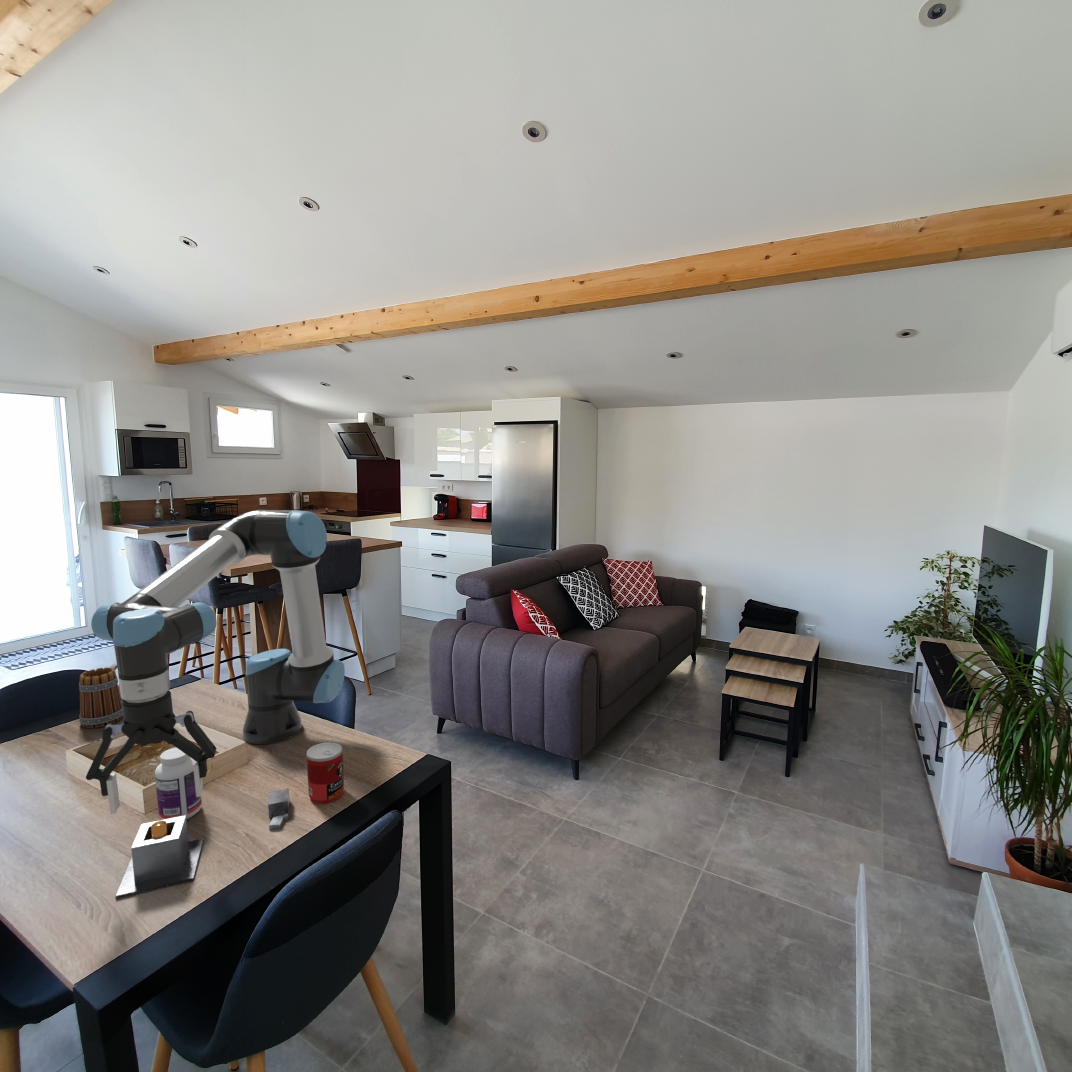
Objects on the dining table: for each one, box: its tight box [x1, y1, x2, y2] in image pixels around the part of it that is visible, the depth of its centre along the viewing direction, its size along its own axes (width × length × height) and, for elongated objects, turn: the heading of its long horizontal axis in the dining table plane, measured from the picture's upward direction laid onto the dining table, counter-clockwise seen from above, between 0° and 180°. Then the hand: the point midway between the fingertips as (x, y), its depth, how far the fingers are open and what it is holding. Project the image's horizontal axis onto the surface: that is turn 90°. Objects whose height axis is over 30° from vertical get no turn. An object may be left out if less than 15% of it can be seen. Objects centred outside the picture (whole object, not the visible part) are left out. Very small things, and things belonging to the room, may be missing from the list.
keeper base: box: [115, 820, 204, 900], centre depth 109 cm, size 12×12×9 cm
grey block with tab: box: [267, 788, 290, 830], centre depth 126 cm, size 10×4×3 cm, turn 22°
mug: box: [78, 662, 123, 729], centre depth 171 cm, size 16×11×15 cm
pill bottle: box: [154, 746, 203, 820], centre depth 125 cm, size 8×8×14 cm
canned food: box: [306, 741, 345, 804], centre depth 133 cm, size 8×8×11 cm
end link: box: [130, 815, 189, 883], centre depth 109 cm, size 7×7×7 cm
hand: (158, 801), depth 108 cm, fingers open, 13 cm apart
